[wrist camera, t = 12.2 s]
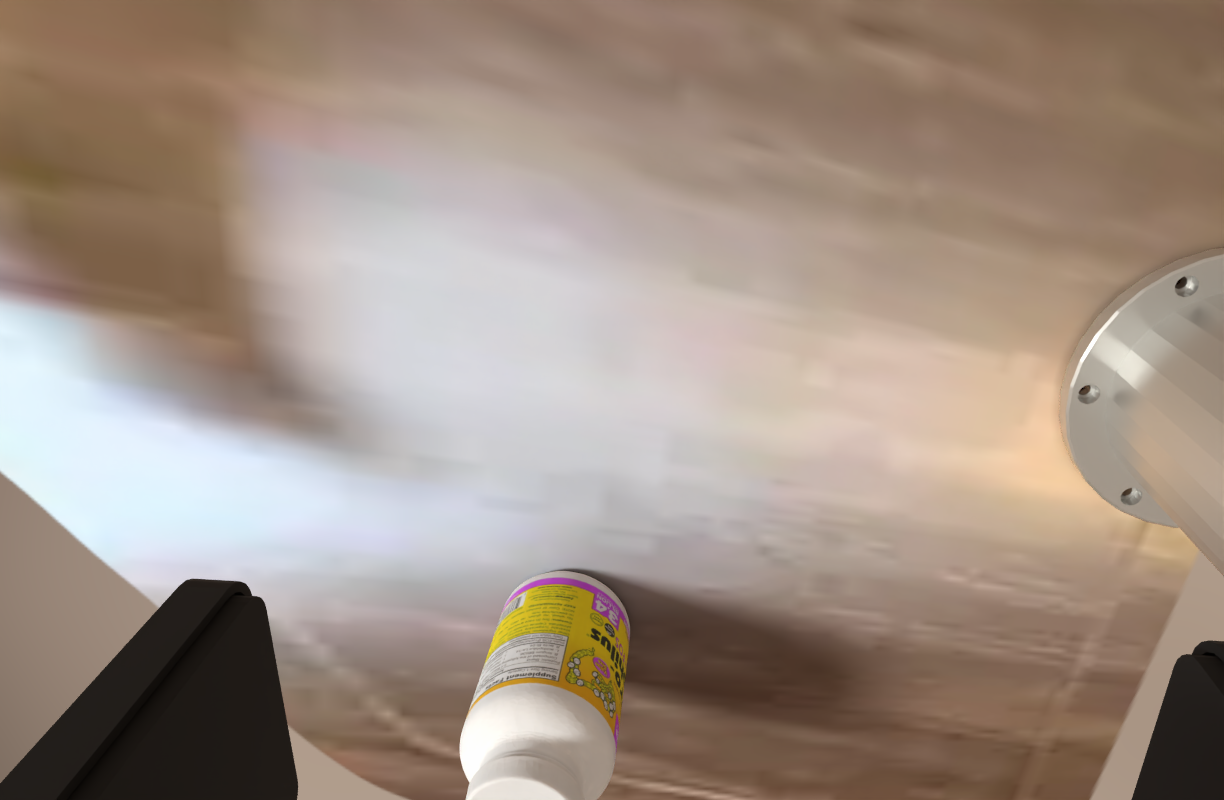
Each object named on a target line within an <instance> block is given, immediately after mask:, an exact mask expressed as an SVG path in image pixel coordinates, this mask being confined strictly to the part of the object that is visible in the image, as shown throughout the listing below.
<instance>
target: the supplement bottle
mask: <svg viewBox="0 0 1224 800" xmlns="http://www.w3.org/2000/svg"><path fill="white" fill-rule="evenodd" d="M629 640H630V624H629V619H628V615H627V613H626V610H625V608H624V606H623V604H622V603H621V601H620V600H619V598H618V597H617V596H616V595H615V594H614V592H612V591H611V590H610V589H609V588H608V587H607V586H605V585H604V584H603V583H601V582H599V581H598V580H596V579H594V578H592V577H590V576H587V575H584V574H580V573H576V572H570V571H554V572H548V573H544V574H540V575H537V576H534V577H532V578H530V579H528V580H527V581H525V582H523V583H522V584H521V585H520V586H518V587H517V588H516V589H515V590H514V591H513V593H512V594H511V595H510V597H509V598H508V600H507V602H506V604H505V606H504V609H503V611H502V613H501V616H500V619H499V622H498V625H497V628H496V631H495V634H494V637H493V640H492V643H491V646H490V649H489V653H488V655H487V658H486V661H485V665H484V667H483V671H482V674H481V677H480V680H479V683H478V686H477V689H476V692H475V694H474V697H473V701H472V703H471V706H470V709H469V712H468V715H467V718H466V721H465V724H464V727H463V730H462V734H461V739H460V758H461V763H462V767H463V770H464V772H465V775H466V777H467V779H468V781H469V782H470V784H469V787H468V792H467V796H466V800H597V799H598V798H599V797H600V795H601V794H602V793H603V792H604V790H605V788H606V787H607V785H608V783H609V781H610V779H611V776H612V773H613V769H614V765H615V757H616V748H617V738H618V731H619V723H620V715H621V707H622V699H623V692H624V682H625V675H626V666H627V659H628V650H629Z"/></svg>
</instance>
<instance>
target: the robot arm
mask: <svg viewBox="0 0 1224 800" xmlns="http://www.w3.org/2000/svg"><path fill="white" fill-rule="evenodd" d="M1181 278H1182V280H1181V282H1180V283H1179V284H1178V285H1176V283H1177V281H1178V280H1179V279H1181ZM1086 385H1087V386H1086ZM1084 386H1086V387H1085V389H1083V390H1082V391H1080V389H1081V388H1083V387H1084ZM1059 421H1060V427H1061V433H1062V438H1063V442H1064V444H1065V447H1066V449H1067V451H1068V454H1069V456H1070V458H1071V461H1072V463H1073V464H1074V465H1075V467H1076V468H1077V469H1078V471H1079V472H1080V474H1081V475H1082V476H1083V478H1084V479H1085V481H1086V482H1087V483H1088V484H1089V485H1090V486H1091V487H1092V488H1093V489H1094V490H1095V491H1096V492H1097V493H1098V494H1099V495H1100V496H1101V497H1102V498H1103V499H1104V500H1106V501H1107V502H1108V503H1110V504H1111V505H1113V506H1114V507H1115V508H1117V509H1118V510H1120V511H1122V512H1124V513H1127V514H1129V515H1131V516H1134V517H1136V518H1139V519H1141V520H1143V521H1146V522H1150V523H1154V524H1159V525H1164V526H1168V527H1173V528H1180V529H1181V530H1182V531H1183V532H1184V533H1185V534H1186V535H1187V537H1188V538H1189V539H1190V540H1191V541H1192V542H1193V543H1194V544H1195V545H1196V546H1197V548H1198V549H1199V550H1200V551H1201V552H1202V553H1203V554H1204V555H1205V556H1206V557H1207V559H1208V560H1209V561H1210V562H1211V563H1212V564H1213V565H1214V566H1215V567H1216V568H1217V570H1218V571H1219V572H1220V573H1221V574H1222V575H1223V576H1224V247H1222V248H1216V249H1210V250H1206V251H1203V252H1200V253H1197V254H1194V255H1191V256H1188V257H1185V258H1181V259H1178V260H1176V261H1174V262H1172V263H1170V264H1168V265H1166V266H1164V267H1162V268H1160V269H1158V270H1156V271H1154V272H1152V273H1150V274H1148V275H1146V276H1145V277H1144V278H1142V279H1141V280H1139V281H1138V282H1137V283H1135V284H1134V285H1132V286H1131V287H1130V288H1128V289H1127V290H1125V291H1124V292H1122V293H1121V294H1120V295H1119V296H1118V297H1117V298H1116V299H1115V300H1114V301H1113V302H1112V303H1111V304H1110V305H1109V306H1108V307H1107V308H1106V309H1104V310H1103V311H1102V312H1101V313H1100V314H1099V315H1098V316H1097V318H1096V319H1095V320H1094V322H1093V323H1092V325H1091V326H1090V327H1089V329H1088V330H1087V331H1086V333H1085V334H1084V335H1083V337H1082V338H1081V340H1080V341H1079V343H1078V345H1077V347H1076V349H1075V351H1074V353H1073V355H1072V357H1071V359H1070V361H1069V363H1068V365H1067V369H1066V372H1065V376H1064V380H1063V383H1062V387H1061V391H1060V404H1059ZM297 795H298V781H297V775H296V769H295V764H294V758H293V752H292V747H291V742H290V736H289V730H288V725H287V720H286V714H285V709H284V703H283V698H282V692H281V687H280V681H279V676H278V670H277V665H276V659H275V654H274V648H273V643H272V637H271V632H270V626H269V621H268V615H267V610H266V606H265V603H264V601H263V600H262V598H260V597H257V596H252V594H251V591H250V589H249V587H248V586H247V585H246V584H245V583H243V582H239V581H222V580H206V579H190V580H186V581H185V582H184V583H182V584H181V585H180V586H179V587H178V588H177V589H176V590H175V591H174V592H173V593H172V595H171V596H170V597H169V598H168V599H167V600H166V601H165V602H164V603H163V604H162V606H161V607H160V608H159V609H158V610H157V611H156V612H155V613H154V614H153V616H152V617H151V618H150V619H149V620H148V621H147V622H146V623H145V624H144V626H143V627H142V628H141V629H140V630H139V631H138V632H137V633H136V635H134V637H133V638H132V639H131V640H130V641H129V642H128V643H127V644H126V645H125V646H124V648H123V649H122V650H121V651H120V652H119V653H118V654H117V655H116V656H115V658H114V659H113V660H112V661H111V662H110V663H109V664H108V665H107V666H106V667H105V669H104V670H103V671H102V672H101V673H100V674H99V675H98V676H97V677H96V678H95V680H94V681H93V682H92V683H91V684H90V685H89V686H88V687H87V688H86V689H85V691H84V692H83V693H82V694H81V695H80V696H79V697H78V698H77V699H76V701H75V702H74V703H73V704H72V705H71V706H70V707H69V708H68V709H67V710H66V711H65V713H64V714H63V715H62V716H61V717H60V718H59V719H58V720H57V722H56V723H55V724H54V725H53V726H52V727H51V728H50V729H49V730H48V731H47V732H46V734H45V735H44V736H43V737H42V738H41V739H40V740H39V741H38V742H37V744H36V745H35V746H34V747H33V748H32V749H31V750H30V751H29V752H28V753H27V755H26V756H25V757H24V758H23V759H22V760H21V761H20V762H19V763H18V764H17V766H16V767H15V768H14V769H13V770H12V771H11V772H10V773H9V774H8V776H7V777H6V778H5V779H4V780H3V781H2V782H1V783H0V800H297ZM1132 800H1224V641H1204V642H1201V643H1200V644H1199V645H1198V646H1196V647H1195V649H1194V651H1193V653H1192V655H1190V654H1186V655H1182V656H1181V657H1180V658H1178V659H1177V662H1176V664H1175V666H1174V668H1173V671H1172V675H1171V678H1170V681H1169V684H1168V687H1167V690H1166V693H1165V697H1164V700H1163V703H1162V706H1161V709H1160V713H1159V715H1158V719H1157V722H1156V725H1155V728H1154V731H1153V734H1152V738H1151V741H1150V744H1149V747H1148V750H1147V753H1146V756H1145V759H1144V763H1143V766H1142V769H1141V772H1140V775H1139V778H1138V781H1137V785H1136V788H1135V791H1134V794H1133V797H1132Z"/></svg>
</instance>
